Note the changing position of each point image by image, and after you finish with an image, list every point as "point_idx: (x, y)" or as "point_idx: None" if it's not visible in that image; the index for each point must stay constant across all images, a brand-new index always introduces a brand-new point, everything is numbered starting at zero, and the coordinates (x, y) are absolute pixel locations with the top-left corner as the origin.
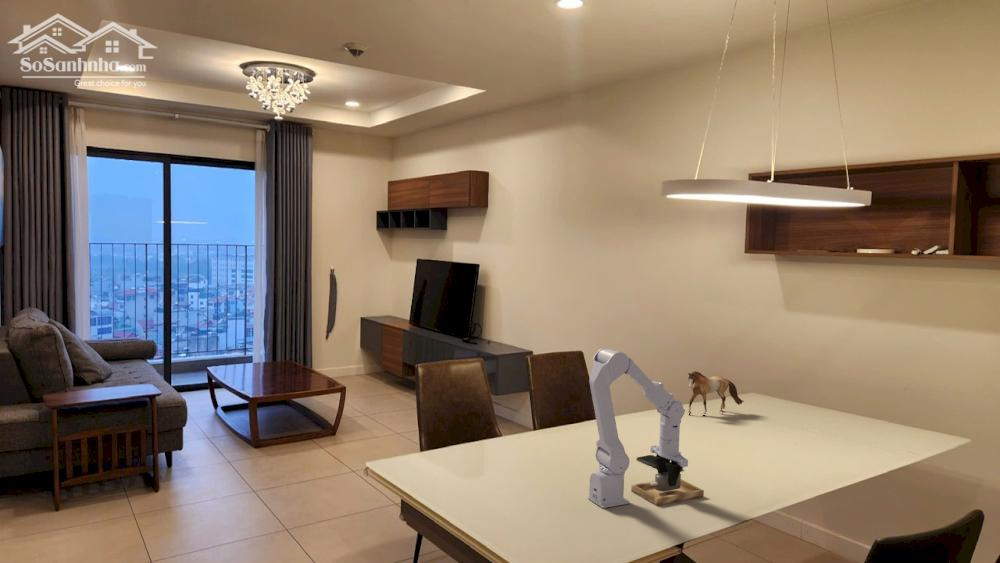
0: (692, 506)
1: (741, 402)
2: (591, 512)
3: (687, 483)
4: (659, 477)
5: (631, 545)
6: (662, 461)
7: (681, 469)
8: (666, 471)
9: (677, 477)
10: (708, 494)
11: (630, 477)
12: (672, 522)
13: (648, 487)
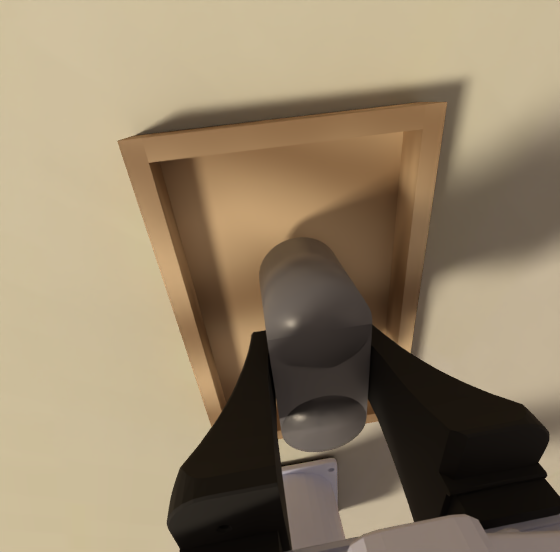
0: (472, 259)
1: None
2: (344, 531)
3: (277, 142)
4: (345, 442)
5: None
6: (284, 505)
7: (471, 390)
8: (268, 377)
9: (396, 347)
10: (399, 12)
11: (14, 369)
12: (517, 395)
13: (214, 363)
